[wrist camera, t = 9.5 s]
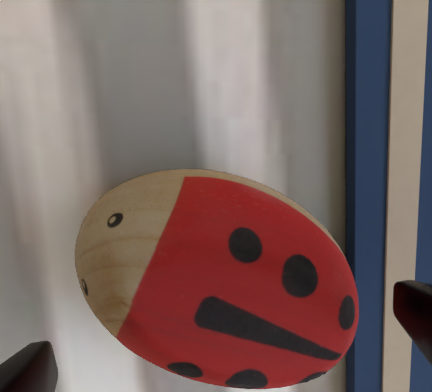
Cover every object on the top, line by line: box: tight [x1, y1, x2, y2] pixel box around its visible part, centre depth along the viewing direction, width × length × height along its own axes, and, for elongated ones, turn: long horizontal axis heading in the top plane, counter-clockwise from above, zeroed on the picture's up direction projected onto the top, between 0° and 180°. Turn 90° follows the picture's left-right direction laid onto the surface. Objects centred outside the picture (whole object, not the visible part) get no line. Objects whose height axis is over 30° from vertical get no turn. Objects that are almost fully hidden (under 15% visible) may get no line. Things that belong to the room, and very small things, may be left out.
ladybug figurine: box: [75, 169, 359, 389], centre depth 10 cm, size 7×10×4 cm
